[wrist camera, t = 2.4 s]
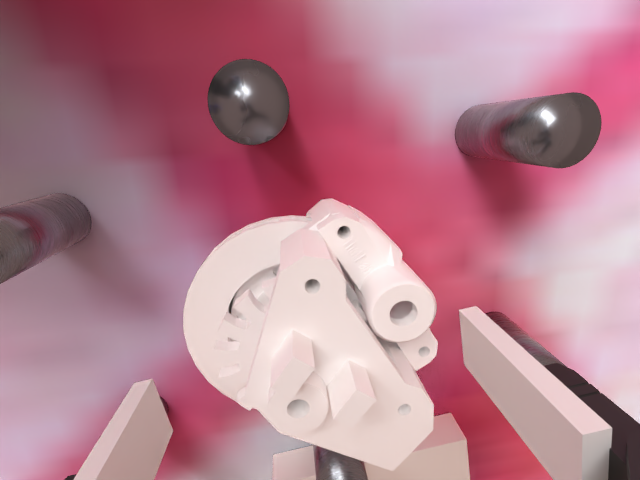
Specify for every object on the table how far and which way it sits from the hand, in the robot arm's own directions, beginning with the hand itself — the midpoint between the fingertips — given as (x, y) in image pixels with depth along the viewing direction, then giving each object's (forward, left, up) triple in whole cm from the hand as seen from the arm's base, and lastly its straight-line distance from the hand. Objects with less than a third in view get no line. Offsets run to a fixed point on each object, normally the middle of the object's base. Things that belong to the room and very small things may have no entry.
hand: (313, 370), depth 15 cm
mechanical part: (0, 0, -9) cm, 9 cm away
